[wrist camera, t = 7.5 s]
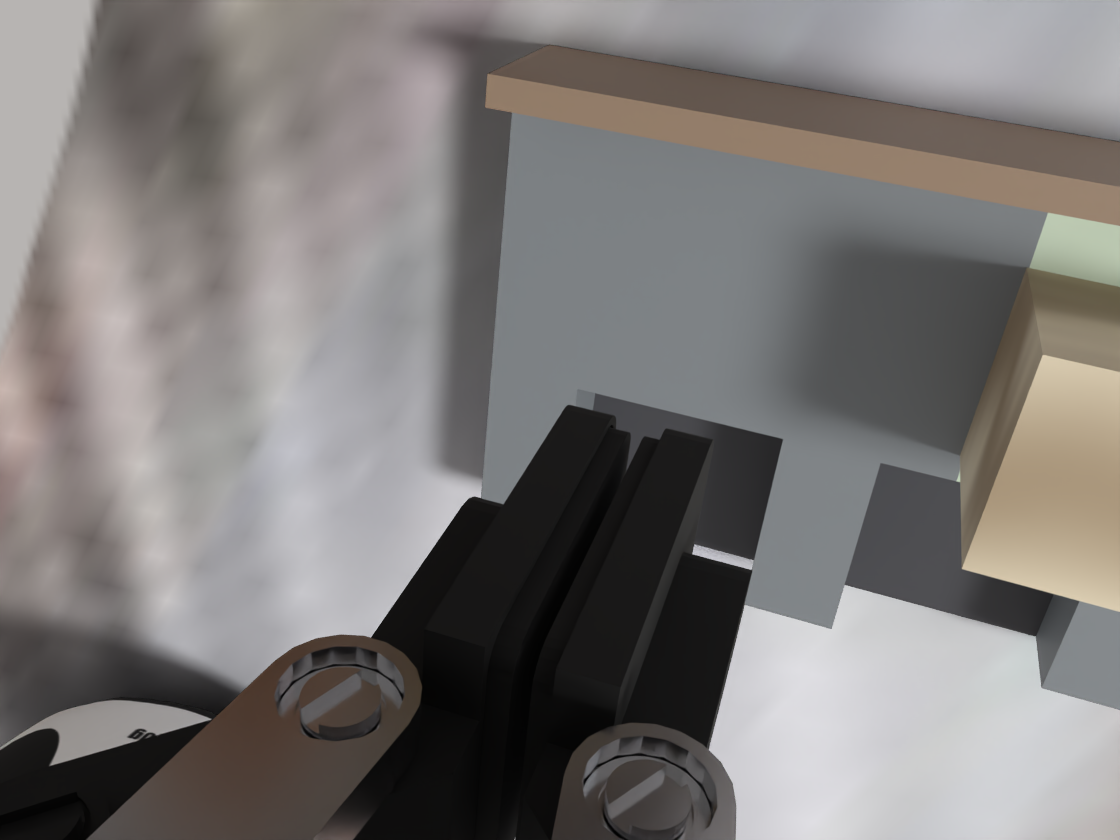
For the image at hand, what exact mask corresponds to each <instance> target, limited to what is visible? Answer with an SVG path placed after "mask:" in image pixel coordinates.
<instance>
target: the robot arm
mask: <svg viewBox="0 0 1120 840" xmlns="http://www.w3.org/2000/svg"><path fill="white" fill-rule="evenodd" d="M630 441H631V434H630V432H627V431H622V430H618V429H616V417H615V415H610V414H606V413H602V412H598V411H594V410H590V409H586V408H581V407H577V406H573V405H567V406H566V407H565V408H564V410H563V411H562V413H561V414H560V416H559V418H558V419H557V421H556V422H555V424H554V425H553V427H552V429H551V430H550V432H549V433H548V435H547V437H546V438H545V440H544V441H543V443H542V444H541V446H540V448H539V449H538V451H537V452H536V454H535V455H534V457H533V459H532V460H531V462H530V463H529V465H528V466H527V468H526V470H525V471H524V473H523V474H522V476H521V477H520V479H519V481H518V482H517V484H516V485H515V487H514V488H513V490H512V492H511V493H510V495H509V496H508V498H507V499H506V501H505V503H504V504H501V503H497V502H493V501H489V500H486V499H482V498H478V497H472V498H469V499H468V500H467V501H466V502H465V503H464V505H463V506H462V507H461V508H460V510H459V511H458V513H457V514H456V516H455V517H454V519H453V520H452V521H451V523H450V524H449V526H448V527H447V529H446V530H445V532H444V533H443V534H442V536H441V537H440V539H439V540H438V542H437V543H436V545H435V546H434V547H433V549H432V550H431V552H430V553H429V555H428V556H427V558H426V559H425V560H424V562H423V563H422V565H421V566H420V568H419V569H418V571H417V572H416V573H415V575H414V576H413V578H412V579H411V581H410V582H409V584H408V585H407V586H406V588H405V589H404V591H403V592H402V594H401V595H400V597H399V598H398V599H397V601H396V602H395V604H394V605H393V607H392V608H391V610H390V611H389V612H388V614H387V615H386V617H385V618H384V620H383V621H382V623H381V624H380V625H379V627H378V628H377V630H376V631H375V633H374V634H373V636H372V637H371V638H370V637H366V636H356V635H335V636H329V637H322V638H316V639H314V640H311V641H309V642H306V643H304V644H301V645H298V646H296V647H294V648H292V649H291V650H289V651H288V652H287V653H285V654H284V655H282V656H281V657H280V658H278V659H277V660H275V661H274V662H273V663H272V664H271V665H270V666H269V667H268V668H267V669H266V670H265V671H264V672H263V673H262V674H261V675H259V676H258V677H257V678H256V679H255V680H254V681H253V682H252V683H251V684H250V685H249V686H248V687H247V688H246V689H245V690H244V691H243V692H242V693H240V694H239V695H238V696H237V697H236V698H235V699H234V700H233V701H232V702H231V703H230V704H229V705H228V706H227V707H226V708H225V709H224V710H223V711H221V712H220V713H219V714H218V715H217V716H216V717H215V718H214V719H212V720H208V721H205V722H201V723H198V724H194V725H191V726H187V727H184V728H180V729H177V730H173V731H170V732H166V733H163V734H159V735H156V736H152V737H149V738H145V739H142V740H138V741H135V742H131V743H128V744H124V745H121V746H118V747H114V748H111V749H107V750H104V751H100V752H97V753H93V754H90V755H86V756H83V757H79V758H76V759H72V760H69V761H65V762H62V763H58V764H55V765H51V766H48V767H44V768H41V769H37V770H34V771H30V772H28V773H25V774H23V775H20V776H18V777H15V778H13V779H10V780H8V781H5V782H3V783H1V784H0V840H514V839H515V840H735V838H736V802H735V796H734V790H733V784H732V782H731V780H730V778H729V776H728V774H727V772H726V771H725V769H724V767H723V765H722V763H721V762H720V761H719V760H718V759H717V758H716V757H715V756H714V755H713V754H712V753H711V752H710V751H709V746H710V742H711V738H712V734H713V730H714V726H715V722H716V718H717V714H718V710H719V706H720V702H721V698H722V694H723V690H724V686H725V682H726V678H727V674H728V670H729V666H730V662H731V658H732V654H733V650H734V646H735V642H736V638H737V634H738V630H739V625H740V621H741V617H742V613H743V609H744V605H745V601H746V596H747V592H748V588H749V584H750V580H751V575H752V570H749V569H745V568H741V567H738V566H734V565H730V564H726V563H723V562H719V561H715V560H711V559H707V558H704V557H700V556H696V555H692V552H693V547H694V542H695V537H696V532H697V527H698V522H699V517H700V512H701V507H702V502H703V497H704V492H705V487H706V482H707V477H708V472H709V467H710V462H711V457H712V452H713V445H714V439H710V438H706V437H702V436H697V435H693V434H689V433H685V432H681V431H677V430H673V429H668V428H666V429H665V430H664V432H663V434H662V436H661V438H660V440H659V439H655V438H651V437H647V436H644V437H643V439H642V440H641V442H640V445H639V447H638V449H637V451H636V453H635V455H634V457H633V459H632V461H631V463H630V465H629V467H628V469H627V462H628V456H629V449H630ZM626 469H627V471H626ZM515 837H516V838H515Z"/></svg>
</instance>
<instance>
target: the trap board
mask: <svg viewBox="0 0 1120 840" xmlns="http://www.w3.org/2000/svg"><path fill="white" fill-rule="evenodd" d="M485 108H490V109H496V110H501V111H506V112H512V118H511V130H510V143H509V155H508V168H507V180H506V193H505V205H504V218H503V230H502V243H501V255H500V267H499V280H498V292H497V305H496V317H495V330H494V342H493V355H492V367H491V380H490V392H489V404H488V417H487V429H486V442H485V454H484V467H483V479H482V492H481V498H482V499H486V500H489V501H493V502H497V503H501V504H504V503H505V501H506V499H507V498H508V496H509V495H510V493H511V492H512V490H513V488H514V487H515V485H516V484H517V482H518V481H519V479H520V477H521V476H522V474H523V473H524V471H525V470H526V468H527V466H528V465H529V463H530V462H531V460H532V459H533V457H534V455H535V454H536V452H537V451H538V449H539V448H540V446H541V444H542V443H543V441H544V440H545V438H546V437H547V435H548V433H549V432H550V430H551V429H552V427H553V425H554V424H555V422H556V421H557V419H558V418H559V416H560V414H561V413H562V411H563V410H564V408H565V407H566V406H567V405H573V406H577V407H581V408H586V409H590V410H594V411H598V412H602V413H606V414H610V415H615V417H616V429H618V430H622V431H627V432H630V434H631V441H630V449H629V456H628V462H627V469H628V467H629V465H630V463H631V461H632V459H633V457H634V455H635V453H636V451H637V449H638V447H639V445H640V442H641V440H642V439H643V437H644V436H647V437H651V438H655V439H659V440H660V438H661V436H662V434H663V432H664V430H665V429H666V428H668V429H673V430H677V431H681V432H685V433H689V434H693V435H697V436H702V437H706V438H710V439H714V445H713V452H712V457H711V462H710V467H709V472H708V477H707V482H706V487H705V492H704V497H703V502H702V507H701V512H700V517H699V522H698V527H697V532H696V537H695V542H694V544H696V545H700V546H704V547H707V548H711V549H715V550H718V551H722V552H726V553H729V554H733V555H737V556H741V557H744V558H748V559H752V560H754V563H753V567H752V575H751V580H750V584H749V588H748V592H747V596H746V601H745V605H748V606H751V607H755V608H758V609H762V610H766V611H769V612H773V613H776V614H780V615H783V616H787V617H791V618H794V619H798V620H801V621H805V622H808V623H812V624H815V625H819V626H823V627H826V628H830V629H832V625H833V622H834V619H835V615H836V612H837V608H838V605H839V602H840V598H841V595H842V592H843V588H844V585H848V586H851V587H855V588H859V589H862V590H866V591H870V592H874V593H877V594H881V595H885V596H888V597H892V598H896V599H899V600H903V601H907V602H910V603H914V604H918V605H922V606H925V607H929V608H933V609H936V610H940V611H944V612H947V613H951V614H955V615H958V616H962V617H966V618H970V619H973V620H977V621H981V622H984V623H988V624H992V625H995V626H999V627H1003V628H1006V629H1010V630H1014V631H1018V632H1021V633H1025V634H1029V635H1032V636H1036V641H1037V650H1038V659H1039V669H1040V678H1041V687H1042V688H1044V689H1047V690H1051V691H1054V692H1058V693H1061V694H1065V695H1068V696H1072V697H1076V698H1079V699H1083V700H1086V701H1090V702H1093V703H1097V704H1101V705H1104V706H1108V707H1111V708H1115V709H1118V710H1120V612H1118V611H1115V610H1111V609H1107V608H1103V607H1100V606H1096V605H1092V604H1089V603H1085V602H1081V601H1078V600H1074V599H1070V598H1067V597H1063V596H1059V595H1056V594H1052V593H1048V592H1045V591H1041V590H1037V589H1034V588H1030V587H1026V586H1022V585H1019V584H1015V583H1011V582H1008V581H1004V580H1000V579H997V578H993V577H989V576H986V575H982V574H978V573H975V572H971V571H967V570H964V569H962V555H961V491H960V454H961V451H962V449H963V446H964V443H965V440H966V437H967V434H968V432H969V429H970V426H971V423H972V420H973V418H974V415H975V412H976V409H977V406H978V403H979V401H980V398H981V395H982V392H983V389H984V387H985V384H986V381H987V378H988V375H989V372H990V370H991V367H992V364H993V361H994V358H995V355H996V353H997V350H998V347H999V344H1000V341H1001V339H1002V336H1003V333H1004V330H1005V327H1006V324H1007V322H1008V319H1009V316H1010V313H1011V310H1012V308H1013V305H1014V302H1015V299H1016V296H1017V293H1018V291H1019V288H1020V285H1021V282H1022V279H1023V276H1024V274H1025V271H1026V268H1032V269H1037V270H1041V271H1046V272H1051V273H1056V274H1060V275H1065V276H1070V277H1075V278H1079V279H1084V280H1089V281H1094V282H1099V283H1103V284H1108V285H1113V286H1118V287H1120V142H1117V141H1111V140H1105V139H1099V138H1093V137H1087V136H1081V135H1076V134H1070V133H1064V132H1058V131H1052V130H1046V129H1040V128H1034V127H1029V126H1023V125H1017V124H1011V123H1005V122H999V121H993V120H988V119H982V118H976V117H970V116H964V115H958V114H952V113H946V112H941V111H935V110H929V109H923V108H917V107H911V106H905V105H899V104H894V103H888V102H882V101H876V100H870V99H864V98H858V97H852V96H847V95H841V94H835V93H829V92H823V91H817V90H811V89H806V88H800V87H794V86H788V85H782V84H776V83H770V82H764V81H759V80H753V79H747V78H741V77H735V76H729V75H723V74H717V73H712V72H706V71H700V70H694V69H688V68H682V67H676V66H670V65H665V64H659V63H653V62H647V61H641V60H635V59H629V58H623V57H618V56H612V55H606V54H600V53H594V52H588V51H582V50H577V49H571V48H565V47H559V46H553V45H548V46H546V47H544V48H541V49H539V50H537V51H535V52H533V53H531V54H529V55H526V56H524V57H522V58H520V59H518V60H516V61H514V62H511V63H509V64H507V65H505V66H503V67H501V68H499V69H496V70H494V71H492V72H490V73H488V74H487V87H486V102H485ZM627 469H626V471H627Z"/></svg>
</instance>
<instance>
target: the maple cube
mask: <svg viewBox="0 0 1120 840" xmlns="http://www.w3.org/2000/svg"><path fill="white" fill-rule="evenodd" d="M960 491H961V555H962V569H964V570H967V571H971V572H975V573H978V574H982V575H986V576H989V577H993V578H997V579H1000V580H1004V581H1008V582H1011V583H1015V584H1019V585H1022V586H1026V587H1030V588H1034V589H1037V590H1041V591H1045V592H1048V593H1052V594H1056V595H1059V596H1063V597H1067V598H1070V599H1074V600H1078V601H1081V602H1085V603H1089V604H1092V605H1096V606H1100V607H1103V608H1107V609H1111V610H1115V611H1118V612H1120V287H1118V286H1113V285H1108V284H1103V283H1099V282H1094V281H1089V280H1084V279H1079V278H1075V277H1070V276H1065V275H1060V274H1056V273H1051V272H1046V271H1041V270H1037V269H1032V268H1026V271H1025V274H1024V276H1023V279H1022V282H1021V285H1020V288H1019V291H1018V293H1017V296H1016V299H1015V302H1014V305H1013V308H1012V310H1011V313H1010V316H1009V319H1008V322H1007V324H1006V327H1005V330H1004V333H1003V336H1002V339H1001V341H1000V344H999V347H998V350H997V353H996V355H995V358H994V361H993V364H992V367H991V370H990V372H989V375H988V378H987V381H986V384H985V387H984V389H983V392H982V395H981V398H980V401H979V403H978V406H977V409H976V412H975V415H974V418H973V420H972V423H971V426H970V429H969V432H968V434H967V437H966V440H965V443H964V446H963V449H962V451H961V454H960Z"/></svg>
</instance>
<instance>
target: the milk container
mask: <svg viewBox="0 0 1120 840" xmlns="http://www.w3.org/2000/svg"><path fill="white" fill-rule="evenodd" d="M216 716H217V715H216V714H214V713H211V712H209V711H207V710H204V709H199V708H195V707H190V706H186V705H181V704H177V703H171V702H164V701H156V700H149V699H141V698H124V697H121V698H113V699H106V700H102V701H98V702H94V703H90V704H86V705H82V706H78V707H73V708H70V709H67V710H64V711H61V712H58V713H56V714H54V715H51V716H49V717H47V718H45V719H44V720H42V721H40V722H39V723H37V724H35V725H34V726H32V727H30V728H29V729H27V730H26V731H24V732H23V733H21V734H19V735H18V736H16V737H15V738H13V739H12V740H10V741H9V742H7V743H6V744H4V745H3V746H1V747H0V784H1V783H3V782H5V781H8V780H10V779H13V778H15V777H18V776H20V775H23V774H25V773H28V772H30V771H34V770H37V769H41V768H44V767H48V766H51V765H55V764H58V763H62V762H65V761H69V760H72V759H76V758H79V757H83V756H86V755H90V754H93V753H97V752H100V751H104V750H107V749H111V748H114V747H118V746H121V745H124V744H128V743H131V742H135V741H138V740H142V739H145V738H149V737H152V736H156V735H159V734H163V733H166V732H170V731H173V730H177V729H180V728H184V727H187V726H191V725H194V724H198V723H201V722H205V721H208V720H212V719H214V718H215V717H216Z"/></svg>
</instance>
